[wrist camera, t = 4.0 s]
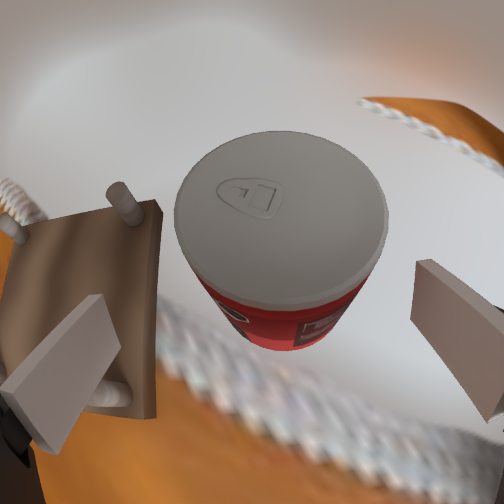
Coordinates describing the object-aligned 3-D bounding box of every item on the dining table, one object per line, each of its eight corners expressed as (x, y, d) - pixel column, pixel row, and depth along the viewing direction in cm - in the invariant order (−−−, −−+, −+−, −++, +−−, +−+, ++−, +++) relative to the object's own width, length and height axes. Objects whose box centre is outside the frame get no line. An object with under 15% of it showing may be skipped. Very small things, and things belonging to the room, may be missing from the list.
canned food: (230, 244, 23) (192, 131, 13) (339, 247, 22) (373, 132, 12) (218, 349, 19) (150, 297, 9) (341, 354, 18) (403, 307, 8)
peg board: (163, 213, 24) (138, 170, 20) (156, 418, 17) (115, 422, 12) (30, 236, 25) (-2, 208, 21) (7, 390, 18) (-36, 380, 13)
